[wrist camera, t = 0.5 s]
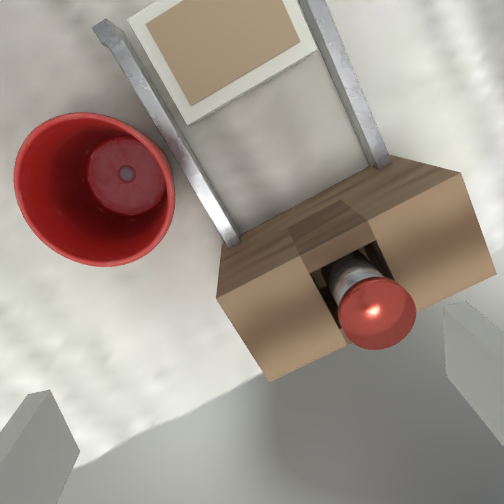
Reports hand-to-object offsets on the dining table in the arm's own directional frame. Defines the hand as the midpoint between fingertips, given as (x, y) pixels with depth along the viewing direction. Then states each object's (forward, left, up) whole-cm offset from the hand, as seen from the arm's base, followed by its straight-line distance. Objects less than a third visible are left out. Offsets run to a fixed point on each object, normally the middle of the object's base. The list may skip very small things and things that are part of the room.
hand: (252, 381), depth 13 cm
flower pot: (-8, -7, -26) cm, 28 cm away
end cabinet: (+6, +6, -26) cm, 27 cm away
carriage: (-13, +6, -26) cm, 29 cm away
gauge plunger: (+6, +6, -17) cm, 19 cm away
